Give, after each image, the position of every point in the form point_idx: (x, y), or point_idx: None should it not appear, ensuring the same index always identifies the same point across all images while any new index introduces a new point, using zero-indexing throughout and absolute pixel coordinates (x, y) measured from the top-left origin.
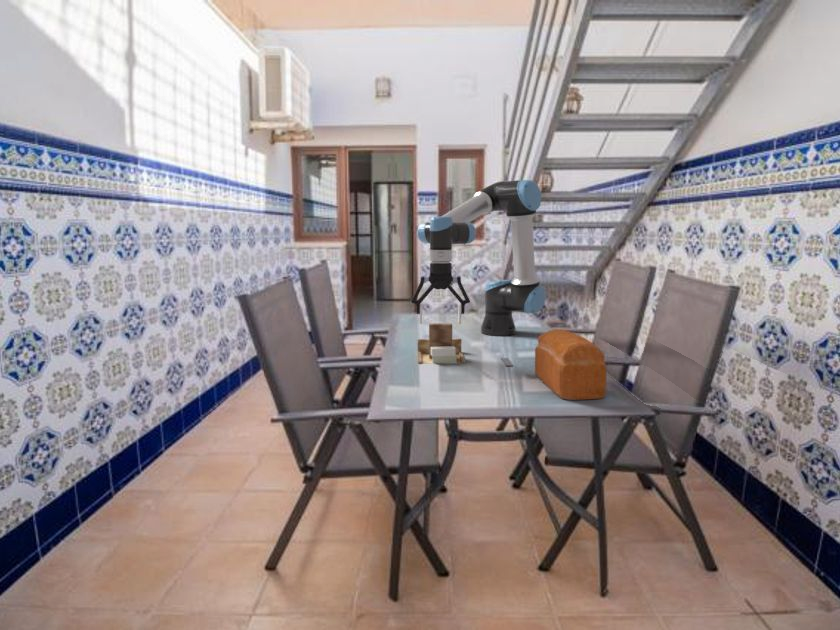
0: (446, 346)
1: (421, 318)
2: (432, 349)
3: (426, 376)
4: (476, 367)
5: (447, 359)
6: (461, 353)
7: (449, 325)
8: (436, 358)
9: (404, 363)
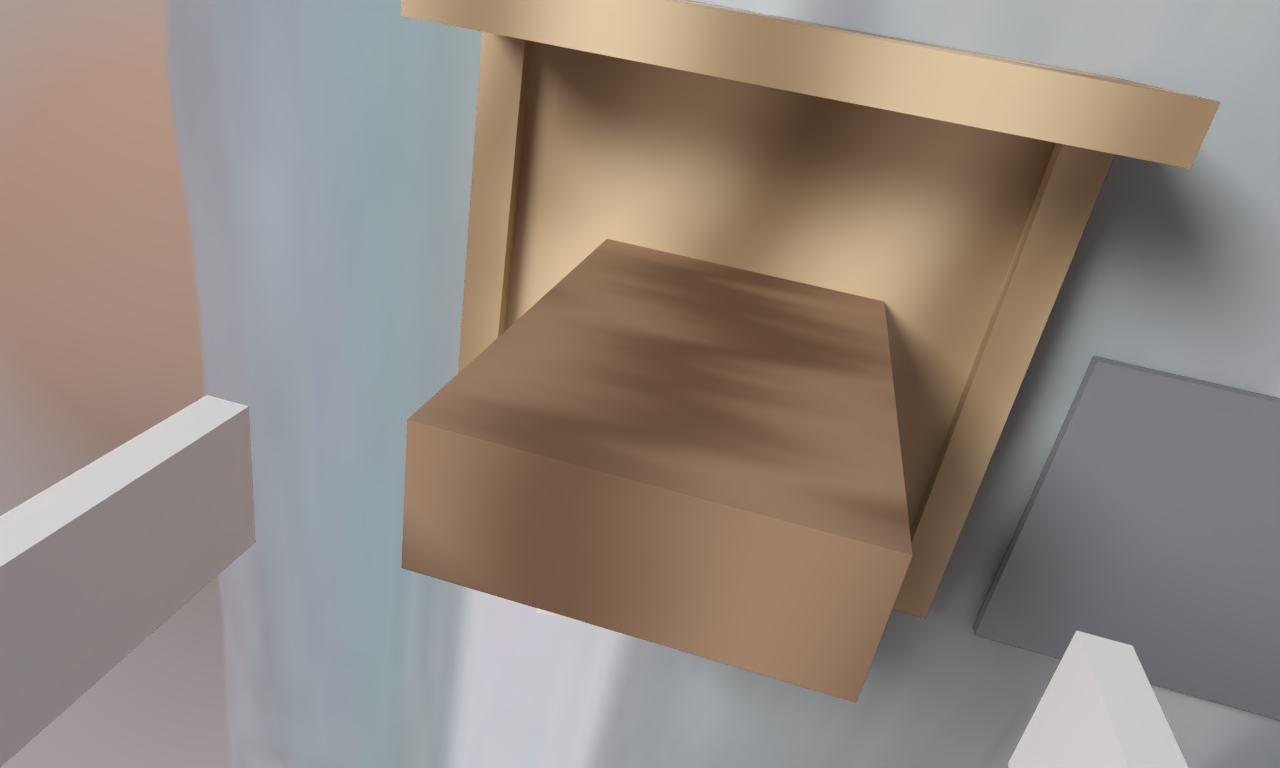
0: None
1: (166, 610)
2: (541, 611)
3: (506, 717)
4: (1014, 656)
5: None
6: (1051, 280)
7: (796, 675)
8: None
9: (351, 325)
